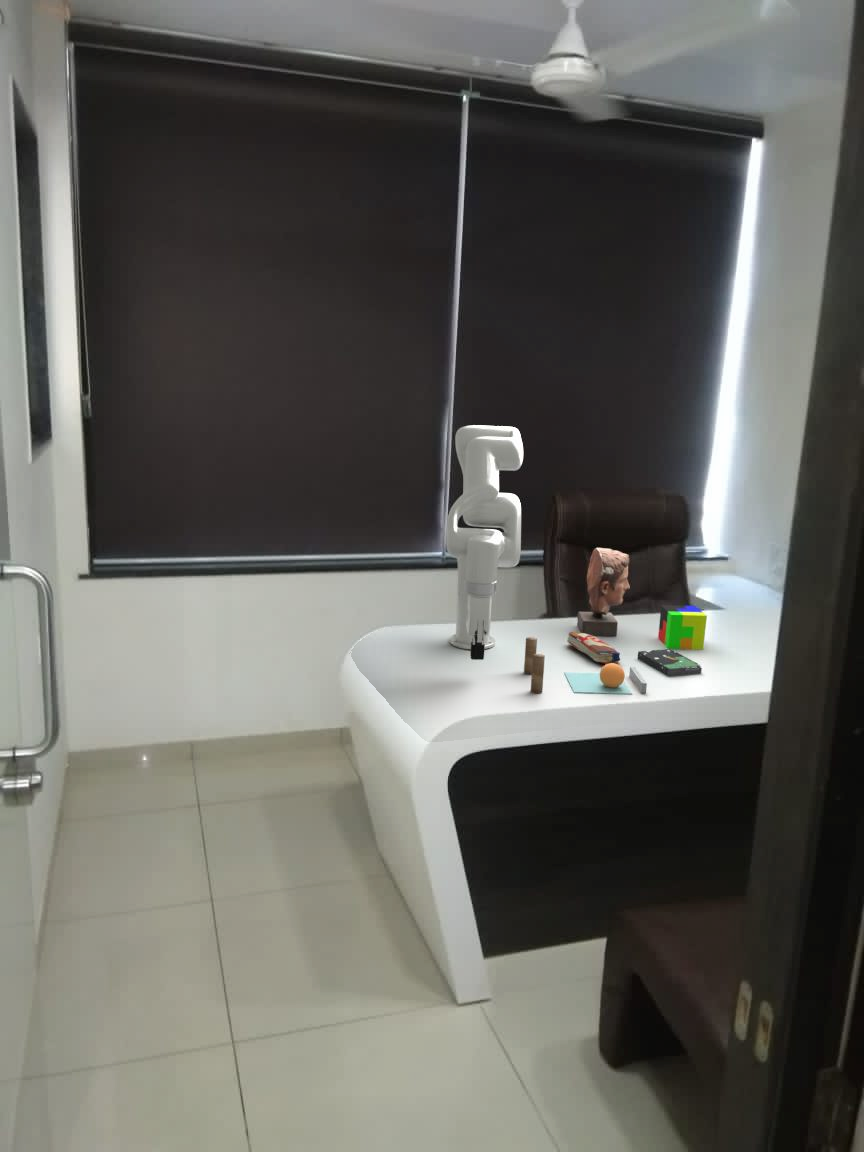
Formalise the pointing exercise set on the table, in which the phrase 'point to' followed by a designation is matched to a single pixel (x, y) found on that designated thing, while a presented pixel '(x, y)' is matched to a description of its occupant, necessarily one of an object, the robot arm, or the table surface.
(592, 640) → the pencil case
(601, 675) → the ball
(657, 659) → the disk drive
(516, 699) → the table surface
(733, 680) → the table surface
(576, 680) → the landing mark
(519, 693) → the table surface
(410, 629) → the table surface
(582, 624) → the bust
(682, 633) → the puzzle toy
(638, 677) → the stopper strip
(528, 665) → the post
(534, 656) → the post
